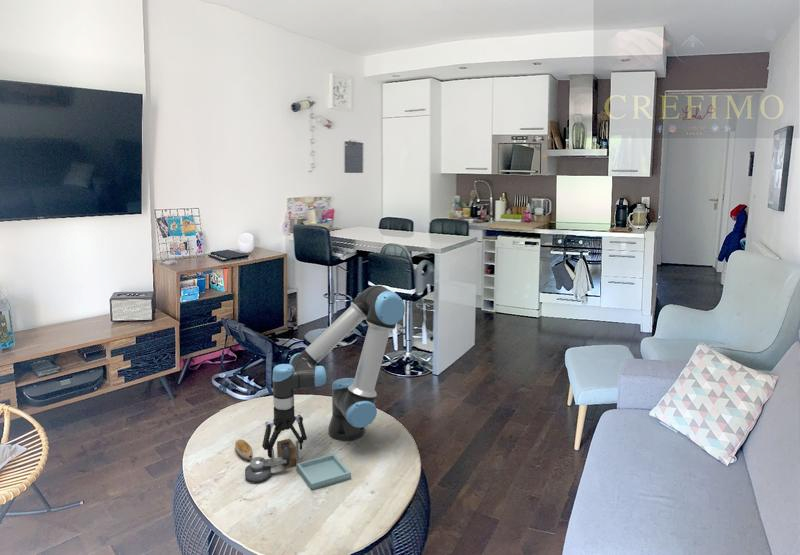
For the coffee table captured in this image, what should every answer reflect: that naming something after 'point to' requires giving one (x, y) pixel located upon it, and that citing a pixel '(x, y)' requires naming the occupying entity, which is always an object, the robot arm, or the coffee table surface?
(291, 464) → the stop block
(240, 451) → the sweet potato
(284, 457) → the crank
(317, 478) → the tray
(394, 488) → the coffee table surface
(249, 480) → the crank base
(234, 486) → the coffee table surface
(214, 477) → the coffee table surface
